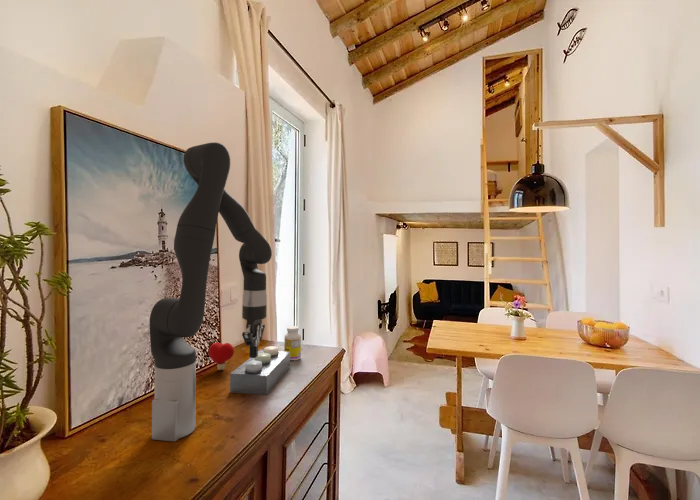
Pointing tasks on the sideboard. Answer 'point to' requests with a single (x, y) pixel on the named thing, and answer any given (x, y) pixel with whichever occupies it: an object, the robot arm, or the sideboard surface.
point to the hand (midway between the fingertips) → (253, 357)
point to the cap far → (271, 350)
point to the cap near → (253, 366)
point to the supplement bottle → (293, 342)
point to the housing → (260, 375)
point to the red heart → (221, 353)
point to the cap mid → (263, 358)
